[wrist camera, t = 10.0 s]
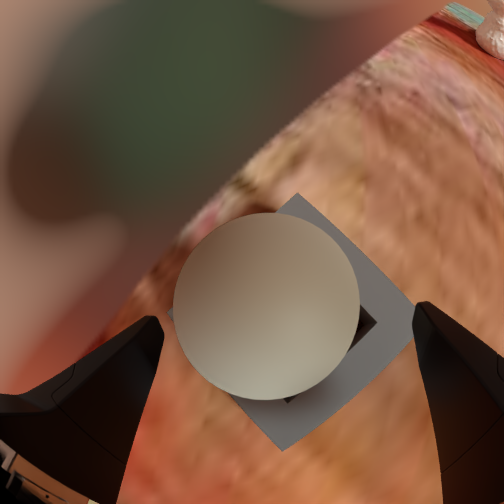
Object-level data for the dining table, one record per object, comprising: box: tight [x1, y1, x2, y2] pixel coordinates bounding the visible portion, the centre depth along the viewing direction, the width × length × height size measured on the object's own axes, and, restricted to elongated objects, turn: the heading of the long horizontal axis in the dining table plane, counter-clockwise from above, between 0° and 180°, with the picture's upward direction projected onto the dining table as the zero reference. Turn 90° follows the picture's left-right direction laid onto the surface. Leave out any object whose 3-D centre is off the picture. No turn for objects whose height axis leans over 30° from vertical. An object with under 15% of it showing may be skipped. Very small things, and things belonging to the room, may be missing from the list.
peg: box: [173, 213, 360, 400], centre depth 12 cm, size 4×4×12 cm
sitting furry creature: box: [476, 0, 504, 61], centre depth 14 cm, size 10×9×12 cm
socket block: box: [167, 193, 415, 452], centre depth 15 cm, size 10×10×4 cm
